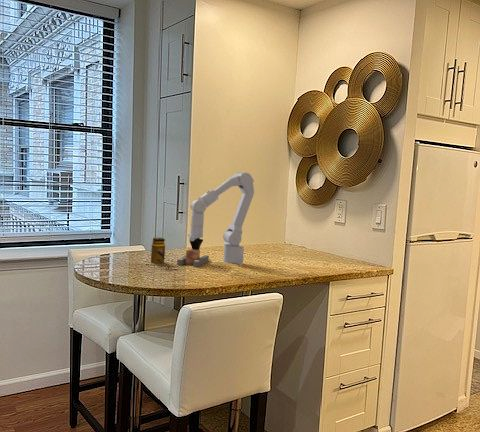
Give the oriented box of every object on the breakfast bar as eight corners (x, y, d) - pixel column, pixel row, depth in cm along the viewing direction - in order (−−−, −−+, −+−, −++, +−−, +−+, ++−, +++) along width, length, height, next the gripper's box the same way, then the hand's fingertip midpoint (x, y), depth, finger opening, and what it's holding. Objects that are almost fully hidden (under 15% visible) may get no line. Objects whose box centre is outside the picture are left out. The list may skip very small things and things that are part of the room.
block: (199, 262, 225) (200, 249, 224) (196, 264, 220) (196, 251, 219) (188, 261, 226) (189, 248, 225) (185, 263, 221) (186, 250, 220)
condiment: (164, 266, 216) (166, 239, 215) (145, 265, 214) (146, 238, 213) (165, 263, 223) (166, 237, 222) (146, 262, 222) (147, 236, 221)
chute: (208, 262, 232) (208, 255, 232) (197, 268, 215) (197, 261, 214) (189, 259, 234) (189, 253, 234) (176, 266, 217) (177, 259, 216)
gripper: (193, 223, 233) (192, 251, 234) (183, 226, 219) (182, 255, 220) (207, 224, 232) (205, 252, 233) (198, 227, 217) (196, 257, 219)
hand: (195, 254), depth 226 cm, fingers closed
